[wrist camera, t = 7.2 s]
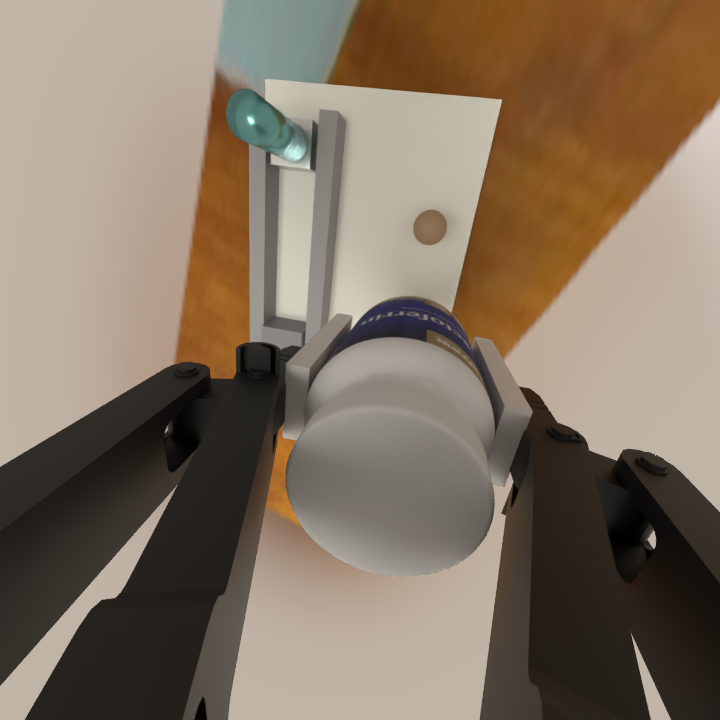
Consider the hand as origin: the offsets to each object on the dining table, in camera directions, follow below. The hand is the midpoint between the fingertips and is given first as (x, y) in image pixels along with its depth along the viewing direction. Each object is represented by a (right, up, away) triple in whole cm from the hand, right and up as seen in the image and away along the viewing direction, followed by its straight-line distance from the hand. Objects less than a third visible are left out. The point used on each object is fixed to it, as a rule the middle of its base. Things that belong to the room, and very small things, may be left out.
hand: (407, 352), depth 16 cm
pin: (-6, +15, +8) cm, 18 cm away
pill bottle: (0, 0, 0) cm, 1 cm away
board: (-2, +9, +11) cm, 15 cm away
